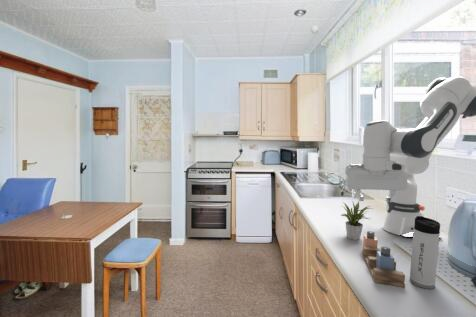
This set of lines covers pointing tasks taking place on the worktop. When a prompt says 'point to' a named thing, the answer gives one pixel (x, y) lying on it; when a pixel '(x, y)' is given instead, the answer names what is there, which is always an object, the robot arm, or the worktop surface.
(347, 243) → the worktop surface
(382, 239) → the worktop surface
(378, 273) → the slotted wooden block
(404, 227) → the robot arm
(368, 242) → the pink square bottle
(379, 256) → the slate plug
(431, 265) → the travel mug
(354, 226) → the house plant
